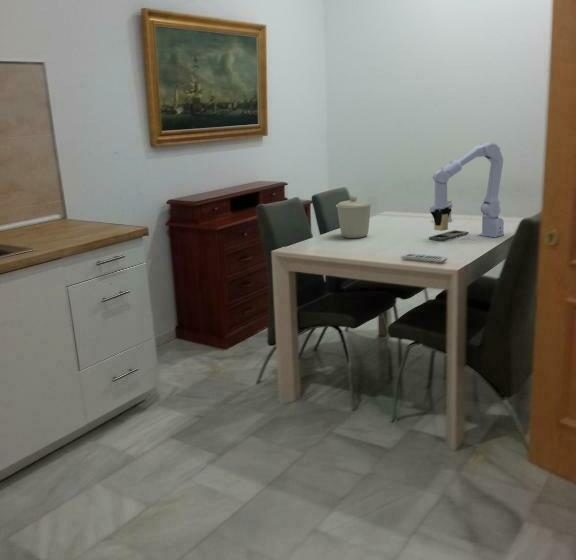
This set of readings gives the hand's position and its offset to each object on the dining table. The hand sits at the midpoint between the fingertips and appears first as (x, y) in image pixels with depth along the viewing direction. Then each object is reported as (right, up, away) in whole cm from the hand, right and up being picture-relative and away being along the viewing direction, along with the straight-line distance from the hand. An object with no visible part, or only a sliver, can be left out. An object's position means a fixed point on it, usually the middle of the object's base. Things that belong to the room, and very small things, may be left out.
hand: (441, 224), depth 303 cm
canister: (-39, -5, +21) cm, 44 cm away
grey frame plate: (+5, -6, +5) cm, 9 cm away
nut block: (0, -2, +1) cm, 2 cm away
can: (+12, +6, +46) cm, 48 cm away
